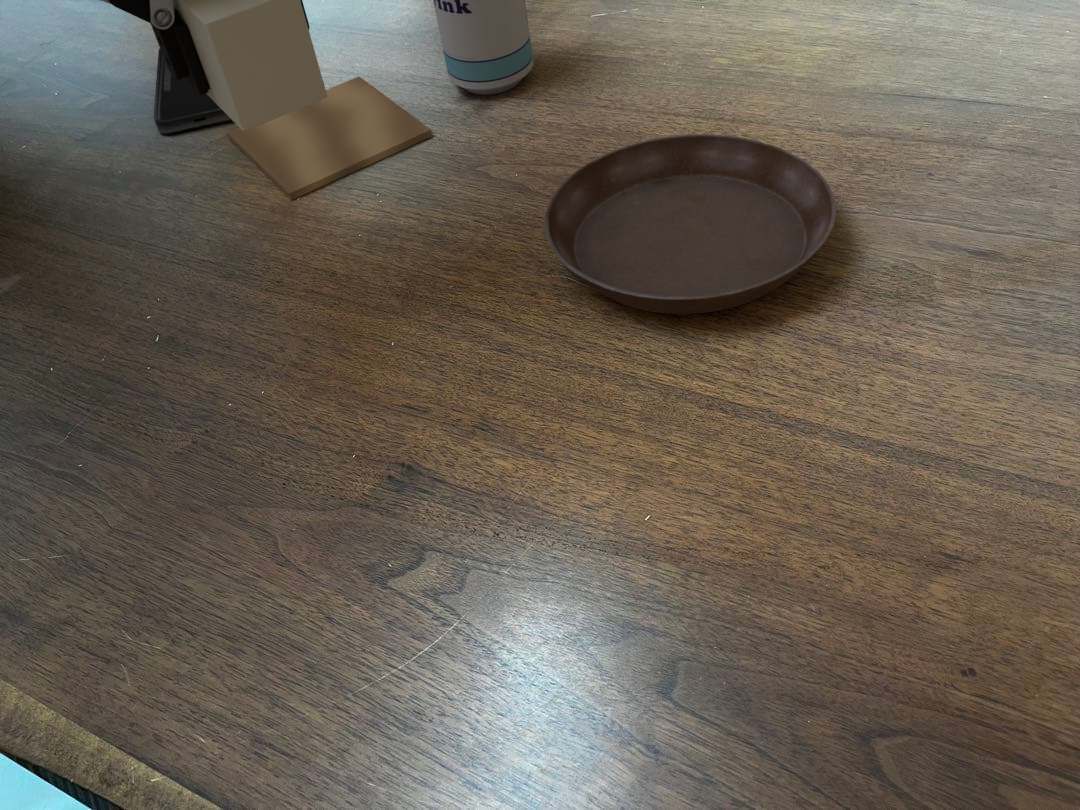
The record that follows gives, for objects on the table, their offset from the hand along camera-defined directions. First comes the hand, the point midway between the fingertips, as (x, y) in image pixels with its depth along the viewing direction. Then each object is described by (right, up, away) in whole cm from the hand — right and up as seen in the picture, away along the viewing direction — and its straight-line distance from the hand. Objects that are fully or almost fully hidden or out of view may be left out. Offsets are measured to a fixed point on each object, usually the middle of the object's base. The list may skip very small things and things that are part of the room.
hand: (244, 63), depth 61 cm
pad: (0, +2, +23) cm, 23 cm away
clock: (0, -1, +1) cm, 1 cm away
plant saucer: (+26, -9, +8) cm, 29 cm away
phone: (-12, +8, +32) cm, 35 cm away
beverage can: (+13, +7, +27) cm, 30 cm away
